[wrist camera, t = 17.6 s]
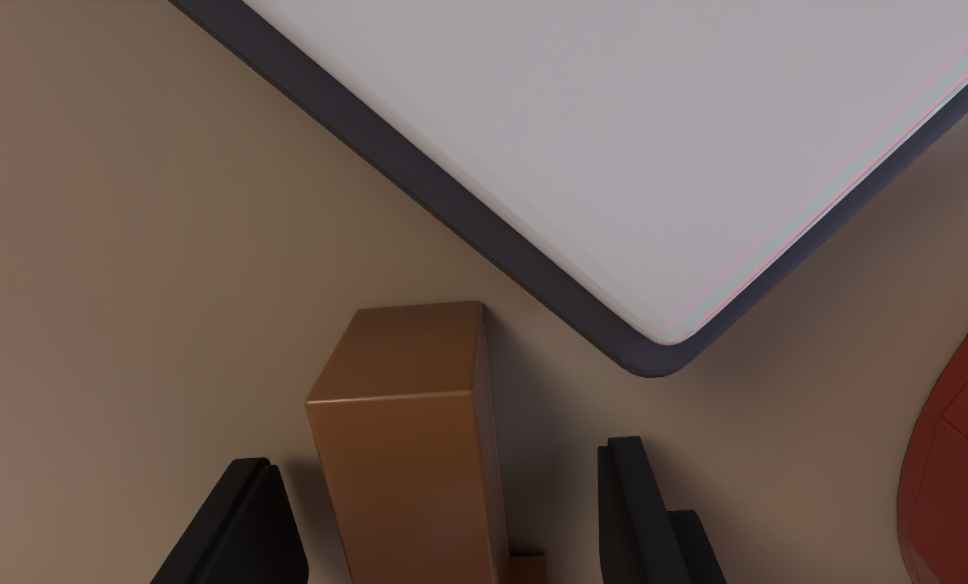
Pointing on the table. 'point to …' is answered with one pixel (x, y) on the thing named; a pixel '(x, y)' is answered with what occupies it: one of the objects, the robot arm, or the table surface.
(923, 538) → the pot
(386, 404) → the stepped wooden block pair
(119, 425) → the table surface
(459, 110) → the calculator
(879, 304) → the table surface
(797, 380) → the table surface
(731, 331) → the table surface
